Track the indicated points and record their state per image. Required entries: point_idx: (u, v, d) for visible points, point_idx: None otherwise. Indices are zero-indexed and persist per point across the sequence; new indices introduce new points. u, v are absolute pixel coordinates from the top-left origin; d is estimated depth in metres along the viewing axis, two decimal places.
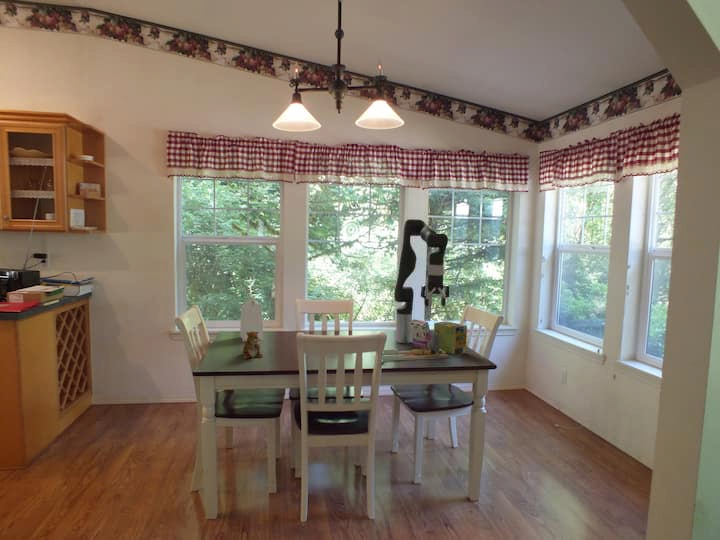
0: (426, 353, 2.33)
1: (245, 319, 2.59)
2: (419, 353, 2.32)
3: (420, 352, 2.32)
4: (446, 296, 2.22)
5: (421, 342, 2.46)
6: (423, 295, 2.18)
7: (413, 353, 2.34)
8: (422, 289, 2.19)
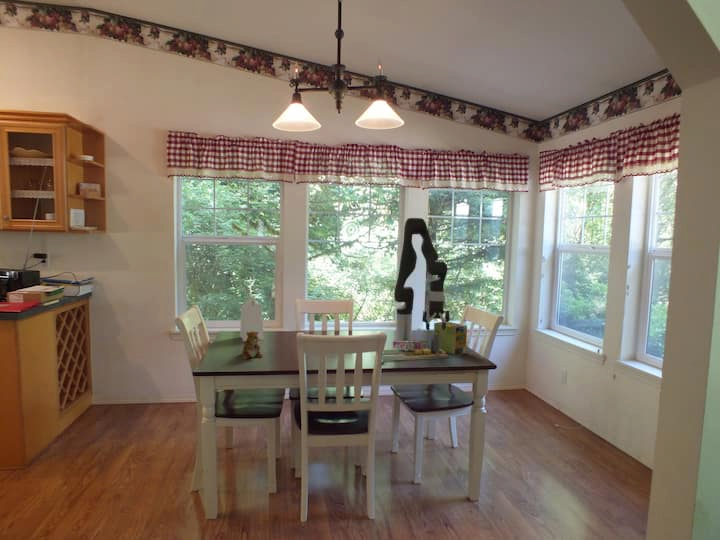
0: (426, 353, 2.33)
1: (245, 319, 2.59)
2: (419, 353, 2.32)
3: (420, 352, 2.32)
4: (446, 320, 2.35)
5: None
6: (424, 320, 2.32)
7: (413, 353, 2.34)
8: (423, 314, 2.33)
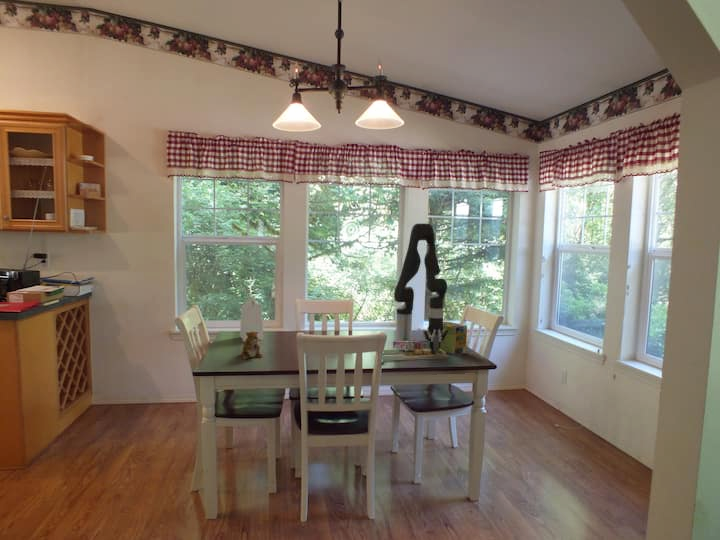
0: (426, 353, 2.33)
1: (245, 319, 2.59)
2: (419, 353, 2.32)
3: (420, 352, 2.32)
4: (441, 338, 2.36)
5: None
6: (428, 338, 2.33)
7: (413, 353, 2.34)
8: (425, 333, 2.34)
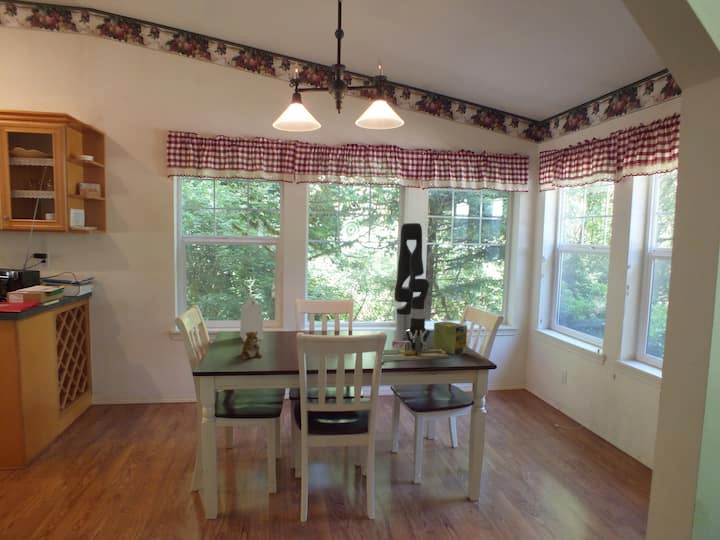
0: (410, 354, 2.31)
1: (245, 319, 2.59)
2: (405, 354, 2.30)
3: (406, 353, 2.30)
4: (423, 339, 2.33)
5: None
6: (409, 339, 2.31)
7: (399, 354, 2.32)
8: (406, 334, 2.32)
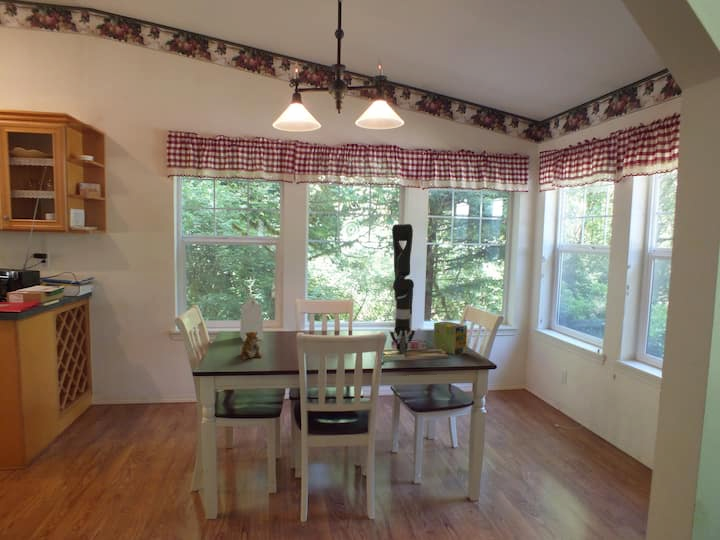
0: None
1: (245, 319, 2.59)
2: None
3: None
4: (408, 340, 2.31)
5: None
6: (394, 340, 2.29)
7: None
8: (391, 335, 2.30)
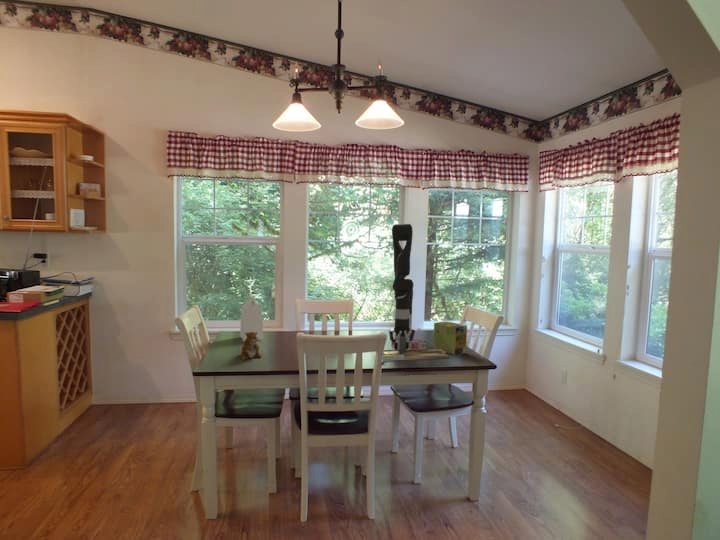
0: None
1: (245, 319, 2.59)
2: None
3: None
4: (409, 339, 2.32)
5: None
6: (392, 339, 2.29)
7: None
8: (390, 334, 2.30)
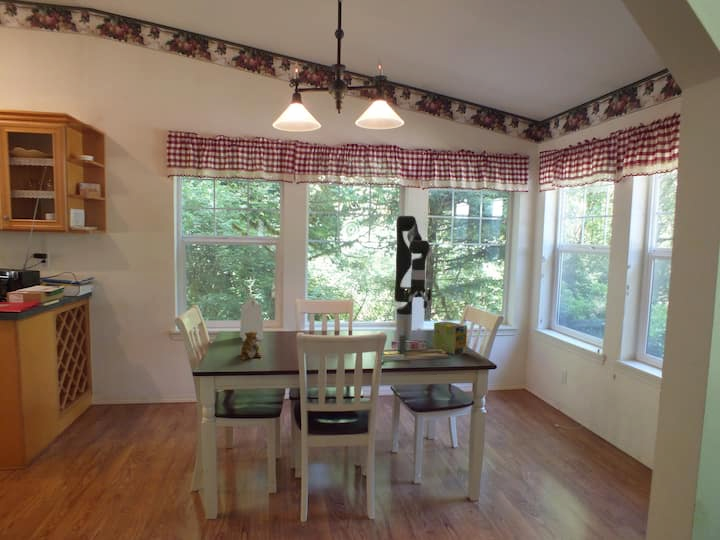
0: None
1: (245, 319, 2.59)
2: None
3: None
4: (428, 299, 2.37)
5: None
6: (406, 298, 2.34)
7: None
8: (405, 292, 2.34)
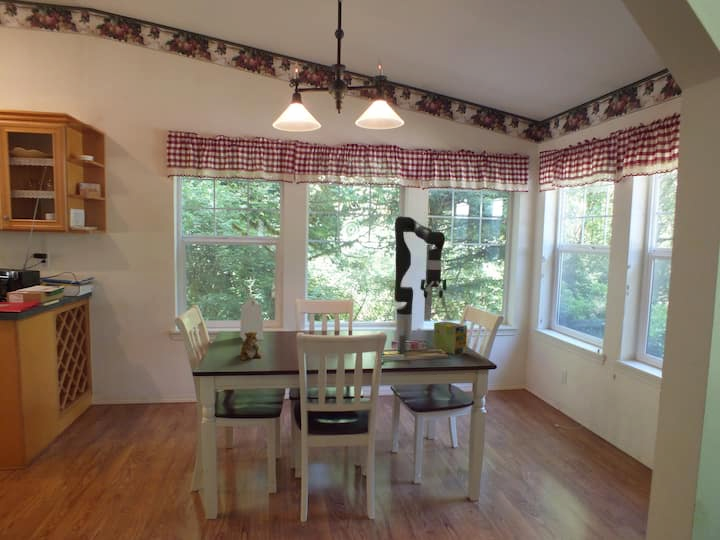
0: None
1: (245, 319, 2.59)
2: None
3: None
4: (443, 289, 2.44)
5: None
6: (422, 288, 2.40)
7: None
8: (421, 282, 2.41)
